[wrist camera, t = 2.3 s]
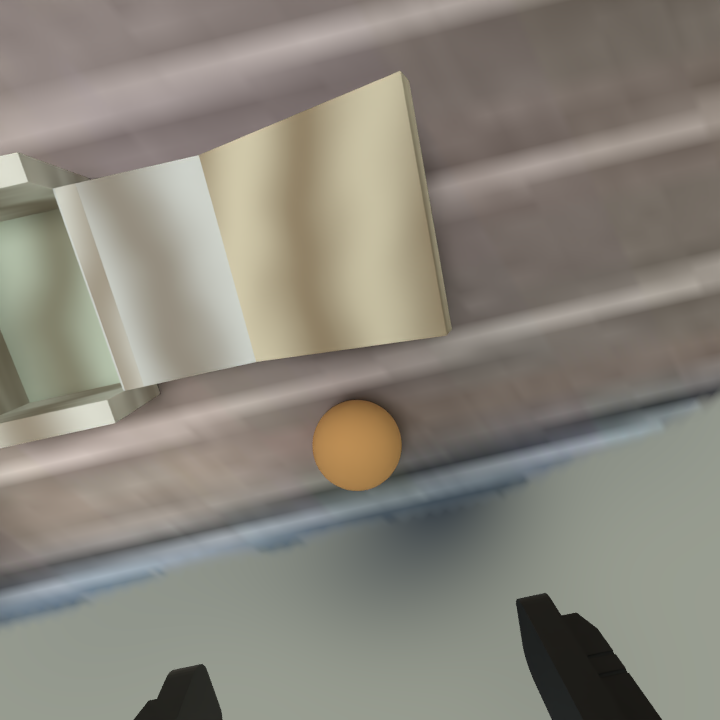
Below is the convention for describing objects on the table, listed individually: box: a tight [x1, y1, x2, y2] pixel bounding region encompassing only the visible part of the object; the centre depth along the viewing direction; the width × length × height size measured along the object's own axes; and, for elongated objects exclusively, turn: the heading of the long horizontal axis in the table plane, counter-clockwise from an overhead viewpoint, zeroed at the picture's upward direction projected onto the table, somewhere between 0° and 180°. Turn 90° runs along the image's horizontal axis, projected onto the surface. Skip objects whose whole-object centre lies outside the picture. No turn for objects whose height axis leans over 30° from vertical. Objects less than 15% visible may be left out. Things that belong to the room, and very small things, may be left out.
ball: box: [313, 400, 402, 491], centre depth 24 cm, size 5×5×5 cm
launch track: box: [0, 71, 452, 448], centre depth 20 cm, size 26×12×8 cm, turn 102°
